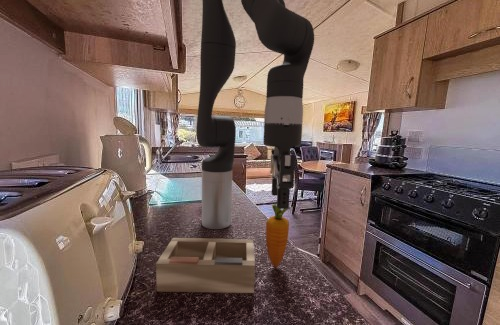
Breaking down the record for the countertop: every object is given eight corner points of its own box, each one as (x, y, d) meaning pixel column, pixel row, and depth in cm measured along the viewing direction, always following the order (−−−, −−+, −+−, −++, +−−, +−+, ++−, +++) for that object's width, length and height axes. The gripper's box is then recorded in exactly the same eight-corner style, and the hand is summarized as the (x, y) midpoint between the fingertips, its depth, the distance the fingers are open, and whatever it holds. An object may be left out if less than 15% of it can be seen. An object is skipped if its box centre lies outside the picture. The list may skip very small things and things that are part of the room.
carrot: (272, 258, 53) (275, 196, 51) (290, 266, 50) (295, 201, 47) (259, 267, 49) (262, 201, 47) (278, 277, 46) (283, 207, 44)
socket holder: (173, 260, 50) (172, 235, 50) (252, 262, 51) (253, 237, 50) (156, 291, 41) (155, 261, 40) (253, 292, 41) (255, 262, 41)
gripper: (261, 123, 52) (259, 191, 54) (267, 120, 38) (264, 213, 40) (294, 124, 52) (290, 192, 54) (312, 121, 38) (306, 213, 40)
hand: (279, 201), depth 47 cm, fingers open, 8 cm apart
